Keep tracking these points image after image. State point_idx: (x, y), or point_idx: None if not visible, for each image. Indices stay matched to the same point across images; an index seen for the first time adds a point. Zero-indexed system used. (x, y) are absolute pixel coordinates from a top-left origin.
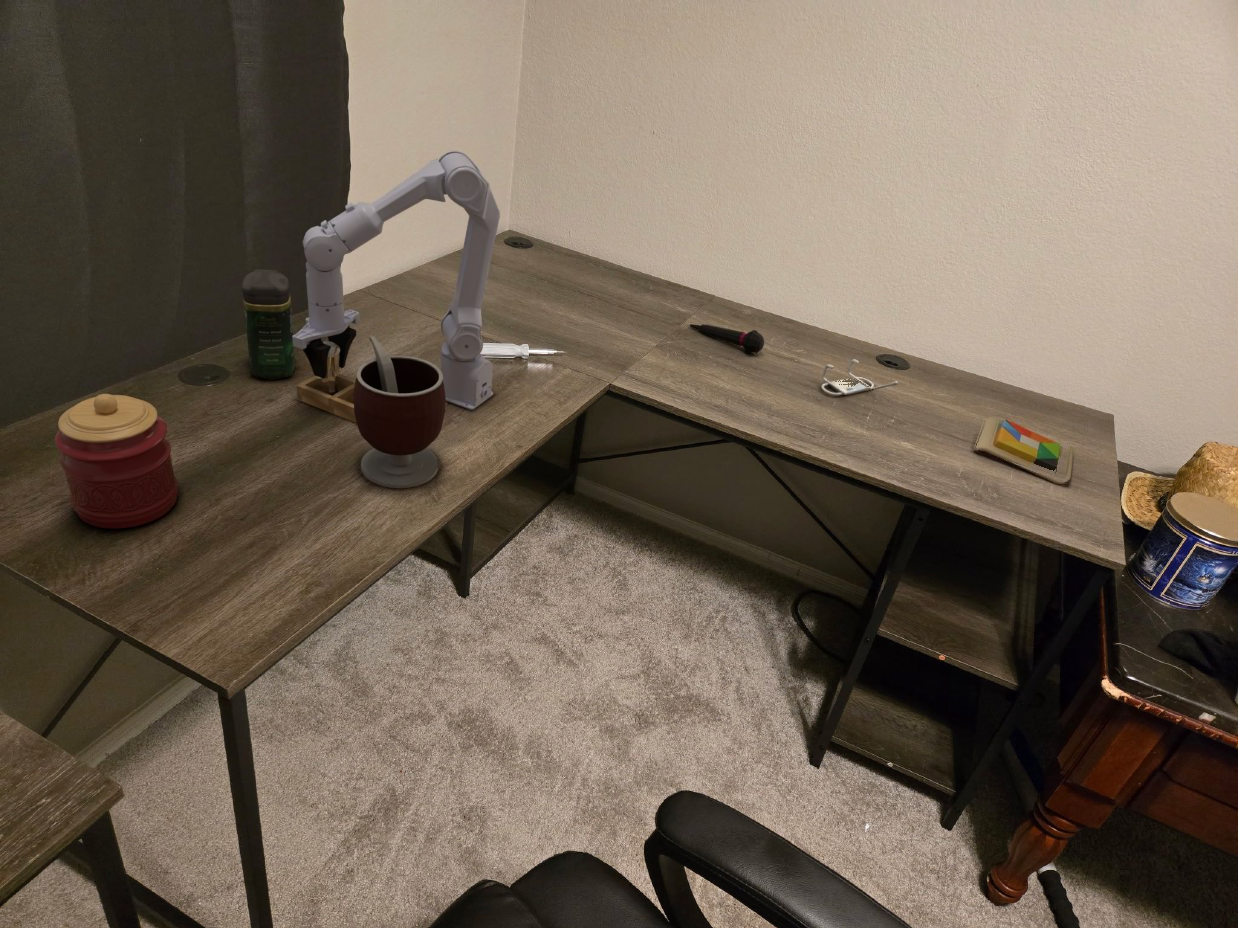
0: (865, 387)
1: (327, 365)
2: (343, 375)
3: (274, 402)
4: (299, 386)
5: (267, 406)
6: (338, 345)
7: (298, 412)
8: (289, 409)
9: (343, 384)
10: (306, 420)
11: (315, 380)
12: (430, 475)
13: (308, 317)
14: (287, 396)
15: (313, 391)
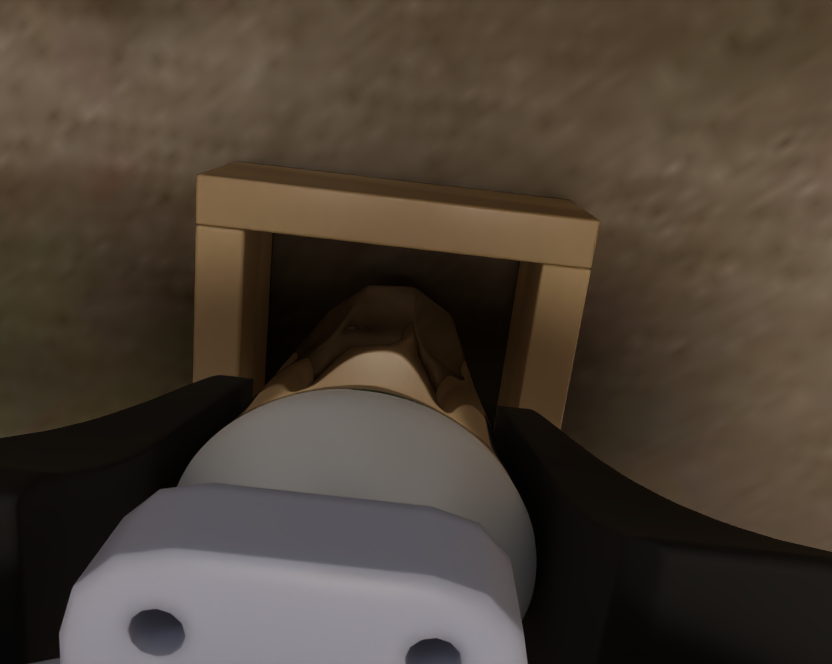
0: None
1: None
2: (564, 395)
3: (104, 36)
4: (196, 208)
5: (26, 30)
6: (529, 637)
7: (104, 270)
8: (96, 194)
9: (511, 397)
10: (59, 370)
11: (381, 242)
12: None
13: (262, 602)
14: (235, 62)
15: (198, 351)
